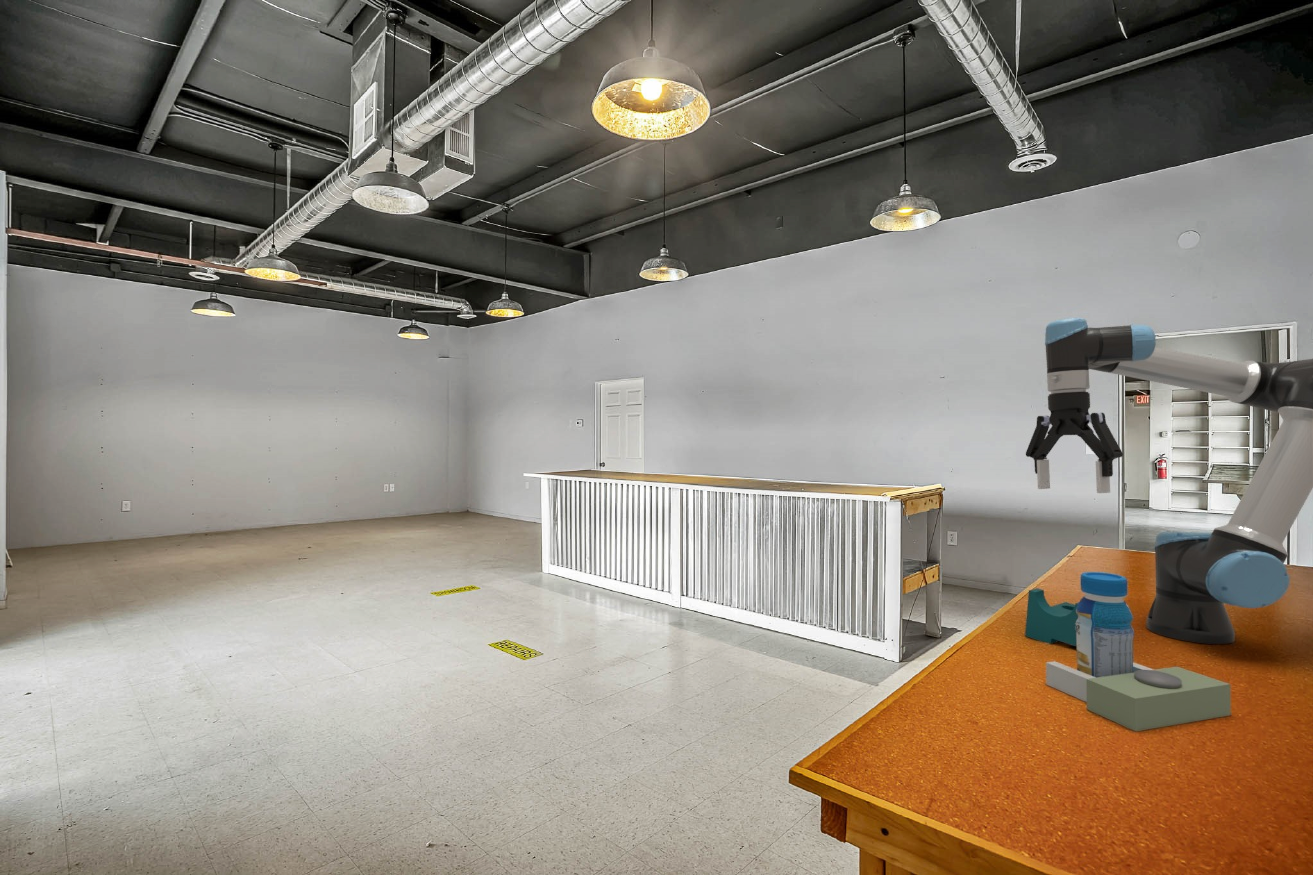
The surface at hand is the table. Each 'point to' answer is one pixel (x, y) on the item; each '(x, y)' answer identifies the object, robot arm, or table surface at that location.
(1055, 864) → the table surface
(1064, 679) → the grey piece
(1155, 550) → the robot arm
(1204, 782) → the table surface
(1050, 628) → the teal l-shaped bracket
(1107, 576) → the blue capped bottle
